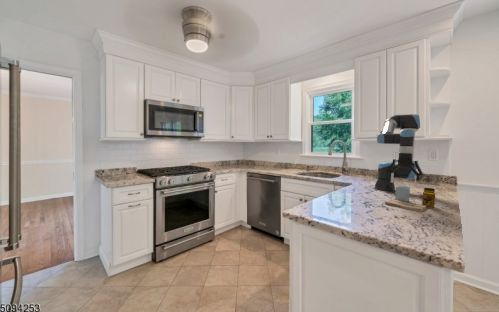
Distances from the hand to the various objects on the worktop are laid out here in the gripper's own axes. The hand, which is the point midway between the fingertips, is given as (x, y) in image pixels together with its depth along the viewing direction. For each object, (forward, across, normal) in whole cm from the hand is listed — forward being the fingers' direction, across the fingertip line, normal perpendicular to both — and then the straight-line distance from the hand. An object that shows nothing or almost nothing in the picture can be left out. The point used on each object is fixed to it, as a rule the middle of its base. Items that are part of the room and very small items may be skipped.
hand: (403, 184), depth 150 cm
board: (+12, +5, -12) cm, 18 cm away
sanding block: (+12, 0, 0) cm, 12 cm away
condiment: (+12, +14, 0) cm, 19 cm away
